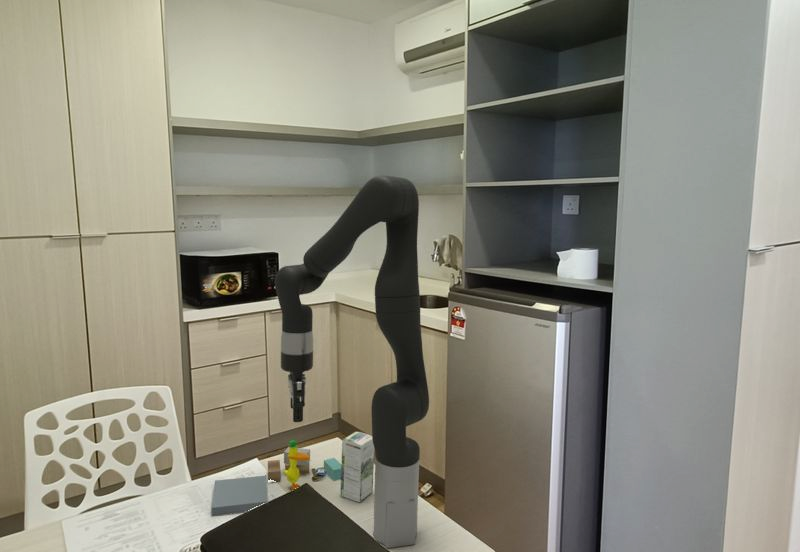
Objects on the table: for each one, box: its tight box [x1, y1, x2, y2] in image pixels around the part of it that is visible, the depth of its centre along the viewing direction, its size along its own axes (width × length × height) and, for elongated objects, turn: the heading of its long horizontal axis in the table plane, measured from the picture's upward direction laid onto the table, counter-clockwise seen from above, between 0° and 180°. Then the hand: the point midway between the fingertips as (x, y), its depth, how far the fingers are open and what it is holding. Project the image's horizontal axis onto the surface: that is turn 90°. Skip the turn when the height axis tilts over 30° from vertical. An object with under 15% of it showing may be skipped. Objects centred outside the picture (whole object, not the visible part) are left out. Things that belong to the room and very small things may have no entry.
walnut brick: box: [267, 459, 281, 483], centre depth 137 cm, size 6×3×3 cm, turn 14°
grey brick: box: [283, 446, 311, 466], centre depth 139 cm, size 6×3×3 cm, turn 81°
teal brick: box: [323, 457, 341, 481], centre depth 139 cm, size 6×3×3 cm, turn 32°
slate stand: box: [211, 475, 268, 517], centre depth 126 cm, size 12×12×2 cm
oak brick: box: [284, 462, 310, 476], centre depth 139 cm, size 6×3×3 cm, turn 105°
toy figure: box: [282, 439, 311, 491], centre depth 131 cm, size 7×4×12 cm, turn 80°
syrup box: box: [339, 431, 375, 503], centre depth 128 cm, size 6×6×14 cm
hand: (296, 414), depth 129 cm, fingers open, 8 cm apart
